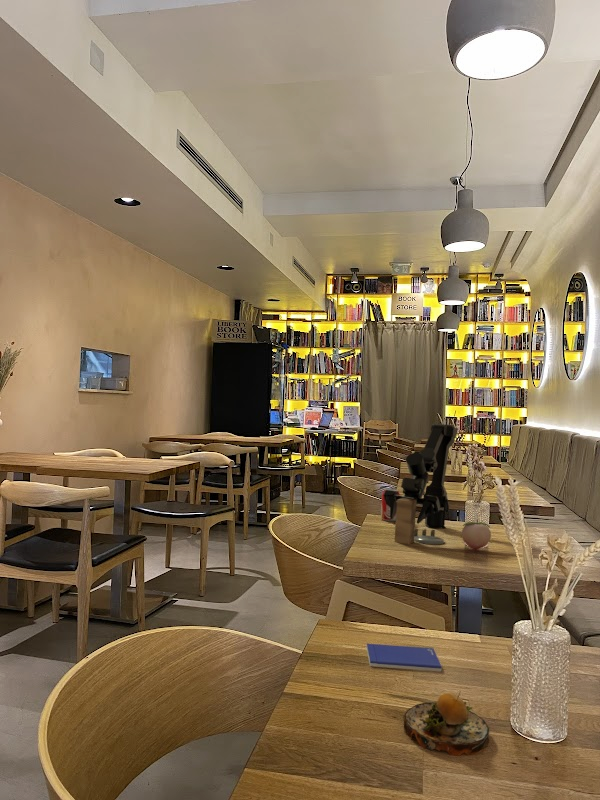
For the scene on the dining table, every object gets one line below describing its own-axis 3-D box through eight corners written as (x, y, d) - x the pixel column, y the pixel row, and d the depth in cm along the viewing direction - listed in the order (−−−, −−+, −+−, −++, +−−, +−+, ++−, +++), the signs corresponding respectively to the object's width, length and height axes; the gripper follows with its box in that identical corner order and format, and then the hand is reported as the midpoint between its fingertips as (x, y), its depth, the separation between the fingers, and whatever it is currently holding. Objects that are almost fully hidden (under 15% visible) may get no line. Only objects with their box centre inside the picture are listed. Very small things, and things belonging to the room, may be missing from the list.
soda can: (378, 520, 248) (380, 489, 248) (381, 517, 255) (383, 487, 255) (397, 522, 246) (399, 491, 246) (399, 519, 253) (401, 489, 253)
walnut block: (399, 539, 217) (402, 498, 217) (413, 541, 215) (416, 500, 215) (394, 541, 213) (397, 499, 213) (408, 544, 210) (411, 501, 210)
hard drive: (433, 647, 120) (366, 642, 120) (441, 665, 111) (370, 660, 112) (432, 655, 120) (366, 650, 120) (441, 674, 111) (369, 669, 112)
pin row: (433, 536, 225) (434, 529, 225) (434, 537, 223) (435, 530, 223) (413, 535, 224) (413, 528, 224) (413, 536, 223) (414, 529, 223)
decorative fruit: (471, 553, 202) (473, 522, 202) (456, 547, 210) (458, 517, 210) (496, 553, 205) (498, 522, 205) (480, 547, 213) (482, 517, 213)
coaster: (439, 538, 222) (439, 536, 222) (447, 545, 212) (447, 542, 212) (410, 537, 222) (411, 534, 222) (417, 543, 212) (417, 541, 212)
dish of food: (474, 715, 97) (477, 666, 97) (501, 760, 85) (505, 703, 85) (395, 711, 97) (398, 662, 96) (411, 755, 85) (415, 699, 85)
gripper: (387, 466, 222) (372, 501, 212) (439, 472, 212) (427, 509, 203) (393, 486, 228) (380, 522, 219) (445, 493, 219) (433, 530, 210)
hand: (404, 520), depth 212 cm, fingers open, 9 cm apart
